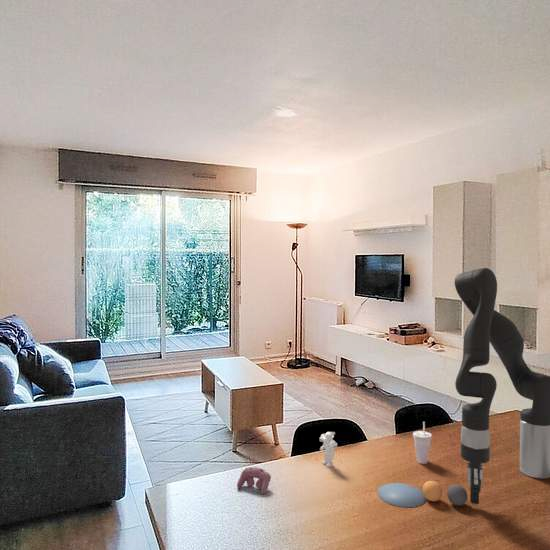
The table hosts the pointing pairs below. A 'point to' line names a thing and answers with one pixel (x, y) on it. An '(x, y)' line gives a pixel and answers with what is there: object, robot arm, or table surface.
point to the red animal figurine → (255, 473)
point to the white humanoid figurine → (328, 448)
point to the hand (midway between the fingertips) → (474, 502)
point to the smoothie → (422, 445)
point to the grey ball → (457, 495)
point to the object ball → (432, 491)
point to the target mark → (401, 495)
